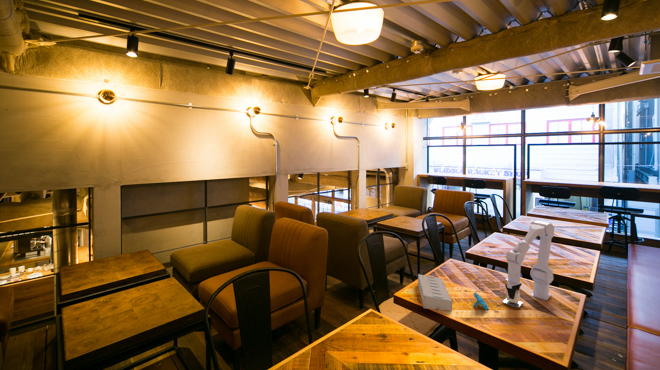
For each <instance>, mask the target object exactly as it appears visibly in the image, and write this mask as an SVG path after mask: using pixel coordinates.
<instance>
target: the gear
mask: <svg viewBox="0 0 660 370" xmlns="http://www.w3.org/2000/svg"><path fill="white" fill-rule="evenodd" d="M473 296H474V298H475V300H476V301H475V302H474V304H473V306H472V307H474V308H475V307H477V306H478V305H481V306H482V308H483V309H485V310H486V311H488V310H489V305H488V304H487V303H486V301H485V300H483V297H482V296H480V295H479V294H478V293H477V292H474V293H473Z"/></svg>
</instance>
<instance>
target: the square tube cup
mask: <svg viewBox="0 0 660 370" xmlns="http://www.w3.org/2000/svg"><path fill="white" fill-rule="evenodd" d="M506 298H507V301H511V302H514V303H518V302H519V301H520V299H521V290H520V289H519V290H516V292H515V296H514V299H510V298H509V296H508V292H507V291H506Z"/></svg>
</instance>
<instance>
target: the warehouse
mask: <svg viewBox="0 0 660 370" xmlns="http://www.w3.org/2000/svg"><path fill="white" fill-rule="evenodd" d="M417 287H418V291H419V295H420V299H421V303H422V307H423V309H429V310H438V311H440V310H442V311H450V312H451V311H453V300H452V298H451V296H450V294H449V291H448V290H447V287H446V285H445V283H444V281H443V278H442V277H441V278H440V277H435V276H429V275H426V274H425V275H424V274H419V273H418V274H417Z"/></svg>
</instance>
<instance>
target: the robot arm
mask: <svg viewBox="0 0 660 370" xmlns="http://www.w3.org/2000/svg"><path fill="white" fill-rule="evenodd" d="M528 229H529V230H528V232H527V233H526V235H525V237H524V238H523V240H519V241H518V243H517V244H516V245H515V246H514V247H513V249H512V250H509V251H508V252H507V253H506V255H505V258H506V261H507V264H508V265H507V266H508V267H507V278H505V281H506V282H507V284H505V286H504V287H505V289H506V293H507V292H508V296H509V298H510V299H514V296H515V292H516V290H519V291H520V288H521V286H522V285H523V283H522V282H521V271H522V270H521V269H522V268H521V264H523V262H524V259H525V257H526V253H527V252H528V251H529V250H530V248H531V245H530V244H531V243H532V242H533V241H534V240H535V239H536V238H537V237H539V244H538V245H539V246H538V252H537V253H538V254H537V260H536V263H535V264H533V265H531V266H532V268H531V270H530V271H529V272H530V273H529V274H530V277H531V278H532V280H533V288H532V289H533V290H532V293H530V296H531V297H533V298H537V299H541V300H544V301H548V300H549V299H550V297H551V296H552V294H550V284H552V282H553V281H554V270H553V269H552V268H551V267H550V266H549V260H550V253H551V246H552V238H554V235H555V226H554V225H553V223H551V222H550V223H549V222H544V221H538V220H532V221H531V222H530V224H529V228H528Z"/></svg>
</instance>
